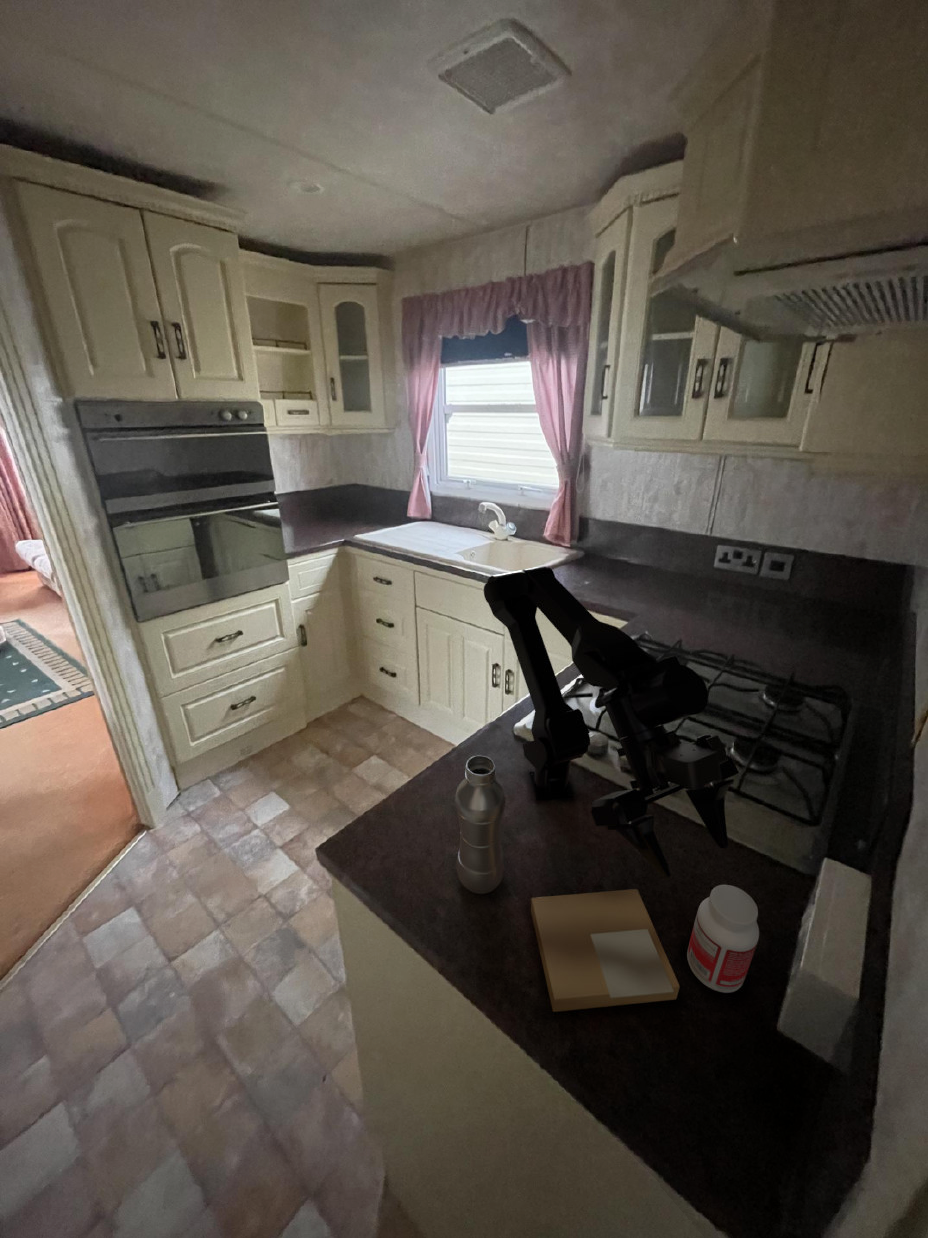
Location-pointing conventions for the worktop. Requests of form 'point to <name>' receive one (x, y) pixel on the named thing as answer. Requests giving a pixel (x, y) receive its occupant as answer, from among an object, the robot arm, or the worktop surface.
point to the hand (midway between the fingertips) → (696, 862)
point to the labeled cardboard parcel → (601, 951)
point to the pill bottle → (724, 938)
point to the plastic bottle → (480, 826)
